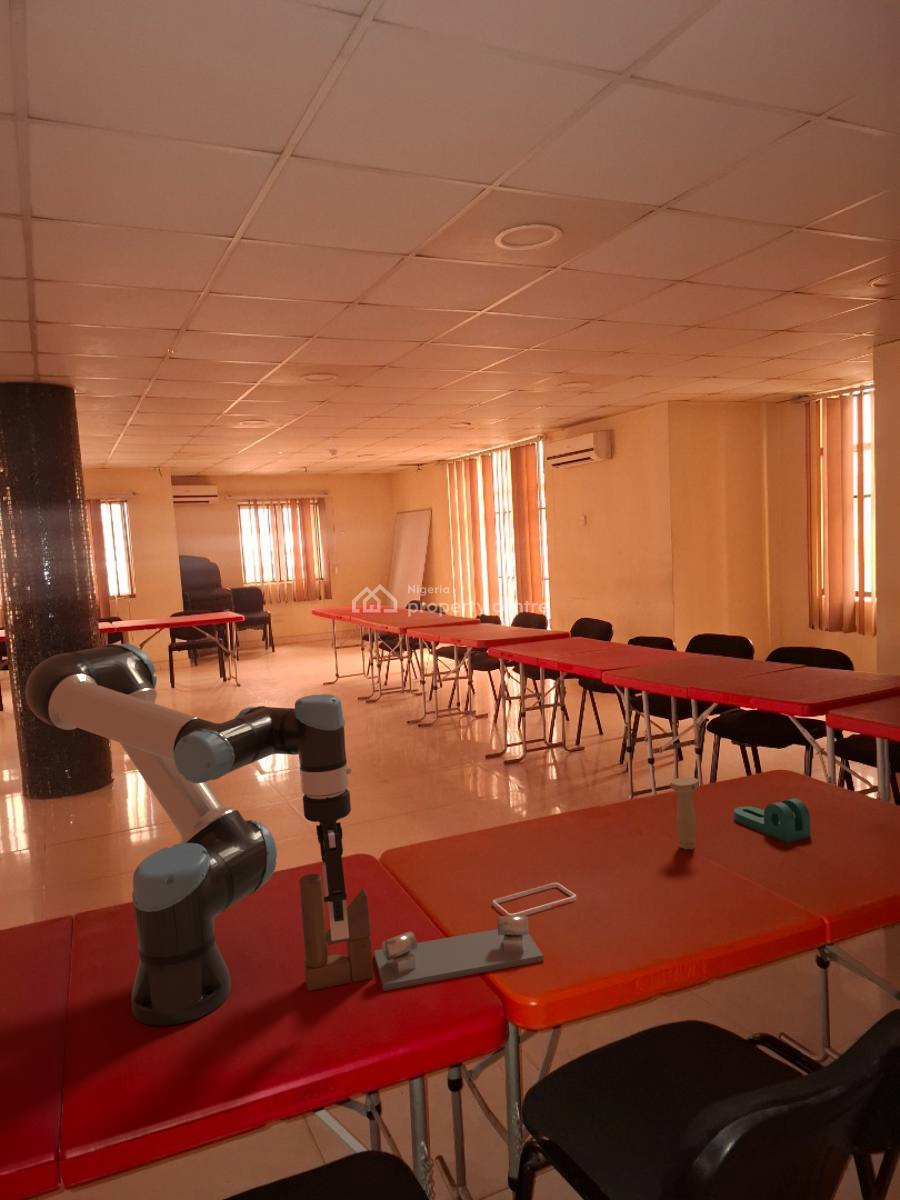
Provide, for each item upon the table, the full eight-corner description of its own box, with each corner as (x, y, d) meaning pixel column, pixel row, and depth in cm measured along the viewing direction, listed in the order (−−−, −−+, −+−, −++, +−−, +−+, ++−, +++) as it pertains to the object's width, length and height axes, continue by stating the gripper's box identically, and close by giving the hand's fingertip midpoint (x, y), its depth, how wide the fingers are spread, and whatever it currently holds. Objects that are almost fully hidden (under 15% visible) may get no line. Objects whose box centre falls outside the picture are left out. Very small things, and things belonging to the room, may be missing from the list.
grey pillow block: (394, 976, 127) (391, 947, 127) (381, 965, 131) (379, 936, 130) (420, 966, 130) (418, 937, 129) (407, 955, 133) (405, 926, 133)
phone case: (556, 888, 158) (491, 906, 152) (556, 881, 158) (491, 900, 152) (577, 902, 152) (510, 922, 145) (577, 895, 152) (510, 915, 145)
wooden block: (373, 979, 128) (366, 873, 127) (307, 992, 126) (299, 884, 124) (370, 967, 132) (362, 864, 131) (305, 980, 129) (297, 875, 128)
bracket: (810, 837, 175) (809, 803, 175) (788, 843, 172) (787, 809, 172) (749, 813, 192) (748, 782, 191) (728, 819, 189) (727, 787, 188)
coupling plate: (383, 990, 125) (382, 984, 125) (374, 955, 136) (374, 950, 136) (543, 961, 131) (543, 955, 131) (523, 929, 141) (522, 924, 141)
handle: (705, 847, 173) (703, 780, 172) (685, 854, 170) (682, 786, 168) (689, 840, 177) (686, 775, 176) (668, 847, 174) (665, 781, 173)
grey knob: (498, 952, 133) (497, 923, 132) (500, 938, 137) (498, 911, 136) (528, 952, 132) (526, 923, 131) (528, 938, 136) (527, 911, 136)
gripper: (357, 812, 115) (368, 951, 117) (342, 768, 139) (352, 883, 141) (305, 820, 113) (317, 961, 115) (299, 773, 138) (309, 890, 139)
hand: (336, 918), depth 128 cm, fingers open, 13 cm apart
